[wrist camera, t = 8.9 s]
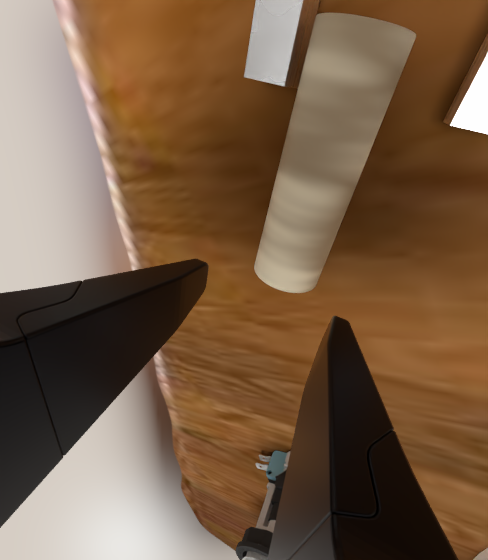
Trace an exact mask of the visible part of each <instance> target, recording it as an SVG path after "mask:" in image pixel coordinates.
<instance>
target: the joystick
mask: <svg viewBox="0 0 488 560" xmlns="http://www.w3.org/2000/svg"><path fill="white" fill-rule="evenodd" d="M473 560H488V548H486V549H485V550H483V551H482V552H480V553H479V554H478V555H477V556H476V557H475V558H474V559H473Z"/></svg>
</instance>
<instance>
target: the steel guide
mask: <svg viewBox="0 0 488 560" xmlns="http://www.w3.org/2000/svg"><path fill="white" fill-rule="evenodd" d="M319 3H320V0H256V3H255V9H254V16H253V22H252V29H251V35H250V42H249V48H248V55H247V61H246V68H245V74H244V77H246V78H250V79H254V80H259V81H263V82H267V83H271V84H276V85H280V86H284V87H291V88H298V87H299V82H300V78H301V74H302V70H303V66H304V62H305V58H306V54H307V50H308V46H309V42H310V38H311V34H312V30H313V26H314V22H315V18H316V15H317V11H318V7H319ZM443 122H444V123H446V124H448V125H451V126H455V127H459V128H464V129H468V130H472V131H476V132H481V133H485V134H488V33H487V35H486V37H485V39H484V41H483V43H482V45H481V47H480V49H479V51H478V53H477V55H476V57H475V59H474V61H473V63H472V65H471V67H470V69H469V71H468V73H467V75H466V77H465V79H464V81H463V83H462V85H461V87H460V89H459V91H458V93H457V95H456V97H455V99H454V101H453V103H452V105H451V107H450V109H449V111H448V113H447V115H446V117H445V119H444V121H443Z"/></svg>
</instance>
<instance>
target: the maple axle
mask: <svg viewBox="0 0 488 560" xmlns="http://www.w3.org/2000/svg"><path fill="white" fill-rule="evenodd" d="M415 39H416V34H415V33H414V32H413V31H411V30H409V29H407V28H405V27H402V26H399V25H397V24H393V23H390V22H387V21H383V20H379V19H374V18H370V17H365V16H359V15H353V14H344V13H320V14H317V15H316V18H315V22H314V26H313V30H312V34H311V38H310V42H309V46H308V50H307V54H306V58H305V62H304V66H303V70H302V74H301V78H300V82H299V87H298V91H297V95H296V99H295V103H294V107H293V111H292V115H291V119H290V123H289V127H288V131H287V135H286V139H285V143H284V147H283V151H282V156H281V160H280V164H279V168H278V172H277V176H276V180H275V184H274V188H273V192H272V196H271V200H270V204H269V208H268V212H267V216H266V220H265V224H264V229H263V233H262V237H261V241H260V245H259V249H258V253H257V257H256V261H255V265H254V270H255V272H256V274H257V276H258V277H259V278H260V279H261V280H262V281H263V282H265V283H266V284H268V285H269V286H271V287H273V288H276V289H278V290H281V291H285V292H291V293H304V292H308V291H310V290H312V289H314V288H315V286H316V284H317V282H318V280H319V277H320V275H321V272H322V270H323V267H324V265H325V262H326V260H327V257H328V255H329V252H330V250H331V247H332V245H333V242H334V240H335V237H336V235H337V232H338V230H339V227H340V225H341V222H342V220H343V217H344V215H345V212H346V210H347V207H348V205H349V203H350V200H351V198H352V195H353V193H354V190H355V188H356V185H357V183H358V180H359V178H360V175H361V173H362V170H363V168H364V165H365V163H366V160H367V158H368V155H369V153H370V150H371V148H372V145H373V143H374V140H375V138H376V135H377V133H378V130H379V128H380V126H381V123H382V121H383V118H384V116H385V113H386V111H387V108H388V106H389V103H390V101H391V98H392V96H393V93H394V91H395V88H396V86H397V83H398V81H399V78H400V76H401V73H402V71H403V68H404V66H405V63H406V61H407V58H408V56H409V54H410V51H411V49H412V46H413V44H414V41H415Z"/></svg>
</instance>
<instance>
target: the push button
mask: <svg viewBox="0 0 488 560" xmlns="http://www.w3.org/2000/svg"><path fill="white" fill-rule="evenodd" d="M290 452H291V451H289V452H288V453H285V452H281V451H274V452H273V454H272V457H270V456H268V457H267V456H263V455H259V457H260V460H262V461H266V462H270V463H269V465H266V464H265V465H263V464H259V463H256V466H257V468H258V469H262V470H266V474H267V477H268V480H269V483H268V485H267V489H268V492H267V495H266V498H265V501H264V504H263V507H262V510H261V513H260V516H259V519H258V522H257V525H256V527H255V528H254V527H250V528H248V529H246V531H245V534H244V537H243V540H242V541H241V542H239V543H238V545H237V548H236V554H237V556H238V558H239V559H240V560H267V559H268V555H269V550H270V545H271V541H272V536H273V531H274V527H275V522H276V517H277V513H278V508H279V503H280V499H281V494H282V489H283V485H284V480H285V475H286V471H287V466H288V461H289V457H290ZM262 457H264V458H265V459H263V458H262ZM260 466H262V467H263V468H261V467H260ZM268 522H269V525H268ZM267 525H268V527H267Z"/></svg>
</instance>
